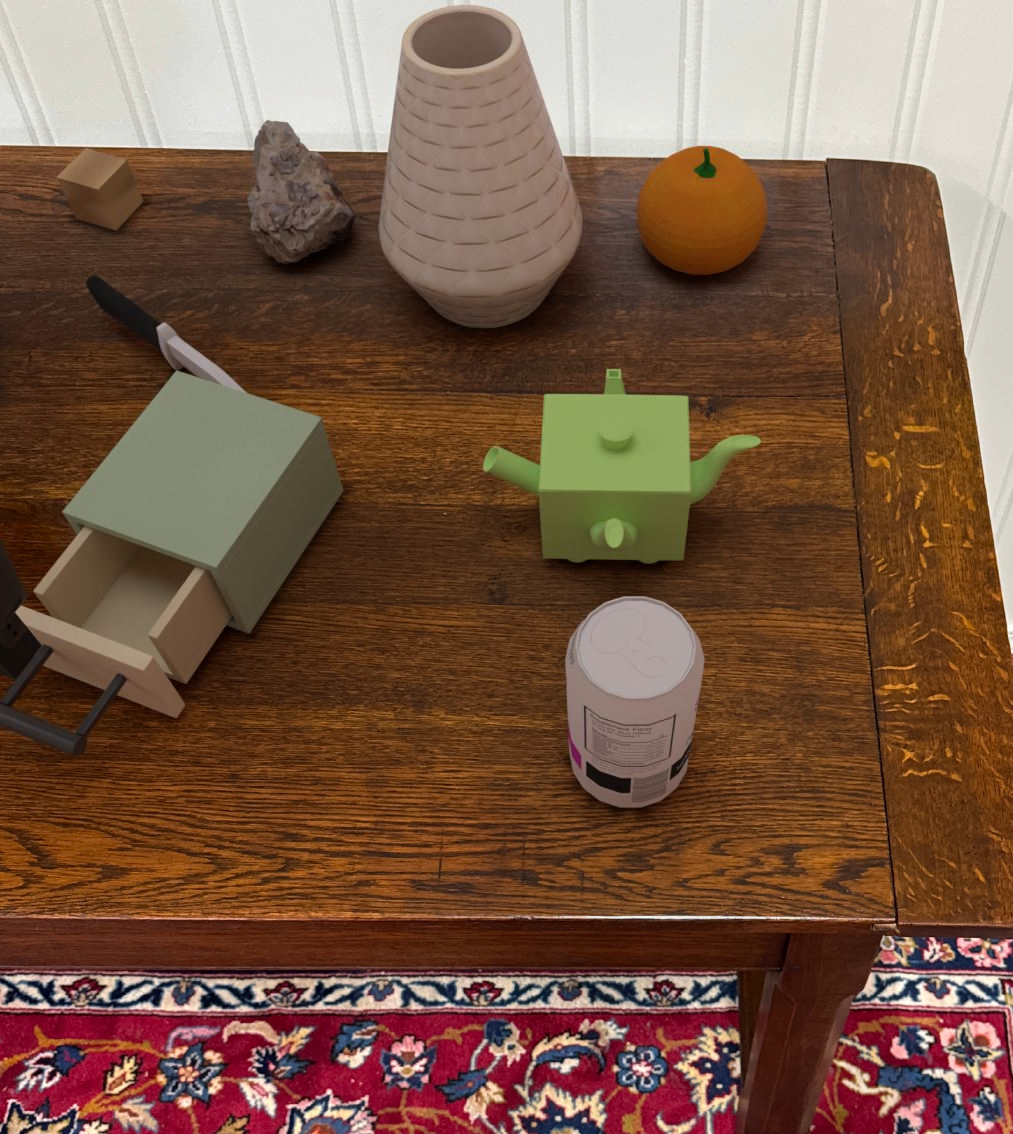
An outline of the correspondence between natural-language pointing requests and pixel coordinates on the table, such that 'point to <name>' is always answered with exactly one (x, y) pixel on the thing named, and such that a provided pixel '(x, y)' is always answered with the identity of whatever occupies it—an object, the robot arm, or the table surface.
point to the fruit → (701, 211)
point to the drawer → (117, 630)
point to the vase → (475, 172)
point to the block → (100, 189)
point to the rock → (294, 197)
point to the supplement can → (632, 700)
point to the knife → (156, 334)
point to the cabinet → (217, 487)
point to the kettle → (615, 474)
